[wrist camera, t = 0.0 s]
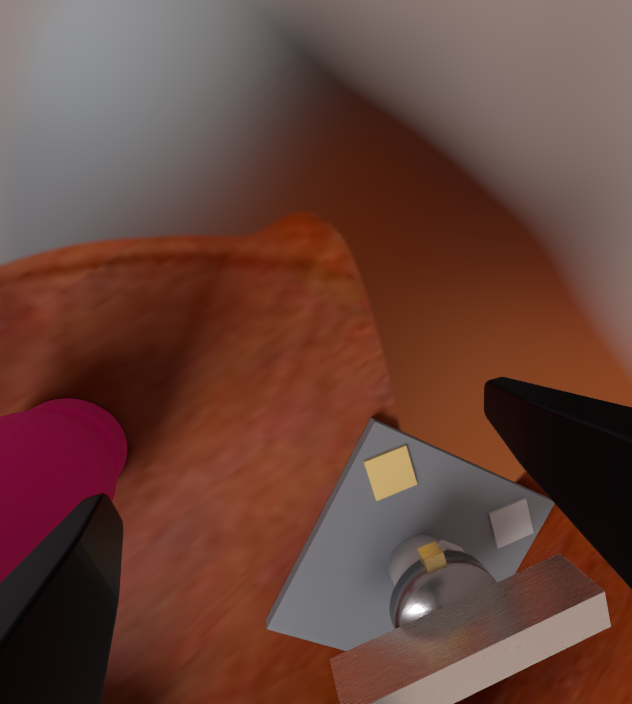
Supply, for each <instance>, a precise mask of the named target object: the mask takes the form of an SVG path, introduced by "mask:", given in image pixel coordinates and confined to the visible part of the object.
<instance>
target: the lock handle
mask: <svg viewBox="0 0 632 704" xmlns="http://www.w3.org/2000/svg"><path fill="white" fill-rule="evenodd" d="M417 551H418V554H419V558H420V560H418V561H417V562H415V563H414V564H413V565H411V566H410V567H409V568H408V569H407V570H406V571H405V572H404V573H403V575H402V576H401V577H400V578H399V580H398V582H397V583H396V585H395V587H394V589H393V592H392V595H391V599H390V606H389V612H390V618H391V622H392V624H393V627H394V630H392V631H390V632H388V633H386V634H383V635H381V636H379V637H377V638H375V639H372V640H370V641H368V642H366V643H364V644H361V645H359V646H357V647H355V648H353V649H351V650H348V651H346V652H344V653H342V654H340V655H337V656H335V657H333V658H331V659H330V663H331V668H332V672H333V676H334V681H335V685H336V689H337V694H338V698H339V702H340V704H454V703H456V702H458V701H460V700H462V699H464V698H466V697H468V696H470V695H472V694H474V693H476V692H478V691H480V690H482V689H484V688H486V687H489V686H491V685H493V684H495V683H497V682H499V681H501V680H503V679H505V678H507V677H509V676H511V675H513V674H515V673H517V672H519V671H521V670H523V669H525V668H527V667H529V666H531V665H533V664H535V663H537V662H539V661H541V660H543V659H546V658H548V657H550V656H552V655H554V654H556V653H558V652H560V651H562V650H564V649H566V648H568V647H570V646H572V645H574V644H576V643H578V642H580V641H582V640H584V639H586V638H588V637H590V636H592V635H594V634H596V633H598V632H601V631H603V630H605V629H607V628H609V627H611V624H610V619H609V613H608V608H607V602H606V596H605V591H603V590H602V589H601V588H600V587H599V586H598V585H596V584H595V583H594V582H593V581H592V580H591V579H589V578H588V577H587V576H586V575H585V574H583V573H582V572H581V571H580V570H579V569H578V568H576V567H575V566H574V565H573V564H572V563H571V562H569V561H568V560H567V559H566V558H565V557H563V556H562V555H561V554H558V555H556V556H554V557H552V558H550V559H547V560H545V561H543V562H541V563H539V564H536V565H534V566H532V567H530V568H528V569H526V570H523V571H521V572H519V573H517V574H515V575H512V576H510V577H508V578H506V579H504V580H501V581H499V582H497V581H496V580H495V579H494V578H493V577H492V576H491V574H490V573H489V572H488V571H487V570H486V568H485V567H484V566H483V565H482V564H481V563H480V562H479V561H478V560H477V559H476V558H475V557H473V556H472V555H470V554H467V553H465V552H461V551H455V550H446V551H442V550H441V548H440V547H439V546H438V544H437V543H436V542H435V541H434V542H432V543H429V544H427V545H425V546H422V547H420V548H418V549H417Z"/></svg>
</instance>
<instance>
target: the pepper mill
mask: <svg viewBox="0 0 632 704" xmlns="http://www.w3.org/2000/svg"><path fill="white" fill-rule="evenodd" d="M126 458H127V440H126V437H125V434H124V431H123V430H122V428H121V426H120V424H119V423H118V421H117V420H116V419H115V418H114V417H113V416H112V415H111V414H110V413H109V412H107V411H106V410H105V409H103V408H101V407H99V406H97V405H96V404H93V403H90V402H87V401H84V400H80V399H72V398H65V399H55V400H50V401H47V402H44V403H42V404H39V405H37V406H35V407H33V408H32V409H30V410H28V411H26V412H18V413H13V414H9V415H5V416H1V417H0V583H1V582H2V581H3V580H4V579H5V578H6V577H7V576H8V575H9V574H10V573H11V572H12V571H13V570H14V569H15V568H16V567H17V566H18V565H19V564H20V562H21V561H22V560H23V559H24V558H25V557H26V556H27V555H28V554H29V553H30V552H31V551H32V550H33V549H34V548H35V547H36V546H37V545H38V544H39V543H40V542H41V541H42V540H43V539H44V538H45V537H46V536H47V535H48V534H49V533H50V532H51V531H52V530H53V529H54V528H55V527H56V526H57V525H58V524H59V523H60V522H61V521H62V520H63V519H64V518H65V517H66V516H67V515H68V514H69V513H70V512H71V511H72V510H73V509H74V508H75V507H76V506H77V505H78V504H79V503H80V502H81V501H82V500H83V499H85V498H87V497H90V496H93V495H97V494H100V493H105V494H107V495H108V496H109V498H110V499H111V501H112V500H113V497H114V494H115V489H116V480H117V478H118V477H119V475H120V474H121V472H122V470H123V468H124V465H125V462H126Z"/></svg>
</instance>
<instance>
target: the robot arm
mask: <svg viewBox="0 0 632 704" xmlns="http://www.w3.org/2000/svg"><path fill="white" fill-rule="evenodd" d="M484 412H485V415H486V417H487V419H488V420H489V422H490V423H491V424H492V426H493V427H494V429H495V430H496V431H497V433H498V434H499V435H500V437H501V438H502V440H503V441H504V442H505V444H506V445H507V446H508V448H509V449H510V451H511V452H512V453H513V455H514V456H515V458H516V459H517V460H518V461H519V463H520V464H521V465H522V467H523V468H524V469H525V470H526V471H527V473H528V474H529V475H530V476H531V477H532V478H533V480H534V481H535V482H536V483H537V484H538V485H539V486H540V487H541V488H542V490H543V491H544V492H545V493H546V494H547V495H548V496H549V497H550V499H551V500H552V501H553V502H554V503H555V504H556V505H557V506H558V508H559V509H560V510H561V511H562V512H563V513H564V514H565V515H566V517H567V518H568V519H569V520H570V521H571V522H572V523H573V524H574V526H575V527H576V528H577V529H578V530H579V531H580V532H581V533H582V534H583V536H584V537H585V538H586V539H587V540H588V541H589V542H590V543H591V545H592V546H593V547H594V548H595V549H596V550H597V551H598V552H599V554H600V555H601V556H602V557H603V558H604V559H605V560H606V561H607V563H608V564H609V565H610V566H611V567H612V568H613V569H614V570H615V571H616V573H617V574H618V575H619V576H620V577H621V578H622V579H623V580H624V582H625V583H626V584H627V585H628V586H629V587H630V588H631V589H632V407H628V406H623V405H619V404H615V403H611V402H607V401H602V400H598V399H594V398H589V397H585V396H581V395H577V394H573V393H569V392H565V391H561V390H556V389H552V388H548V387H543V386H540V385H535V384H531V383H527V382H523V381H519V380H514V379H510V378H506V377H498V378H495V379H491V380H488V381H487V382H486V383H485V387H484ZM122 543H123V522H122V519H121V517H120V515H119V514H118V512H117V510H116V508H115V506H114V505H113V503H112V501H111V499H110V498H109V496H108V495H107V494H105V493H100V494H97V495H93V496H90V497H87V498H85V499H83V500H82V501H81V502H80V503H79V504H78V505H77V506H76V507H75V508H74V509H73V510H72V511H71V512H70V513H69V514H68V515H67V516H66V517H65V518H64V519H63V520H62V521H61V522H60V523H59V524H58V525H57V526H56V527H55V528H54V529H53V530H52V531H51V532H50V533H49V534H48V535H47V536H46V537H45V538H44V539H43V540H42V541H41V542H40V543H39V544H38V545H37V546H36V547H35V548H34V549H33V550H32V551H31V552H30V553H29V554H28V555H27V556H26V557H25V558H24V559H23V560H22V561H21V562H20V564H19V565H18V566H17V567H16V568H15V569H14V570H13V571H12V572H11V573H10V574H9V575H8V576H7V577H6V578H5V579H4V580H3V581H2V582H1V583H0V704H101V700H102V694H103V688H104V683H105V677H106V671H107V665H108V660H109V654H110V648H111V643H112V637H113V631H114V625H115V620H116V614H117V607H118V601H119V590H120V575H121V559H122Z"/></svg>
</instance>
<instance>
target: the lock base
mask: <svg viewBox="0 0 632 704" xmlns="http://www.w3.org/2000/svg"><path fill="white" fill-rule="evenodd" d="M554 504H555V503H554V502H553V501H552V500H551V499H549V498H548V497H546V496H544V495H542V494H540V493H537V492H535V491H533V490H531V489H528V488H526V487H524V486H522V485H520V484H517V483H515V482H513V481H511V480H508V479H506V478H504V477H502V476H500V475H497V474H495V473H493V472H491V471H488V470H486V469H484V468H482V467H480V466H477V465H475V464H473V463H471V462H469V461H466V460H464V459H462V458H459V457H458V456H455V455H453V454H451V453H449V452H446V451H444V450H442V449H440V448H438V447H435V446H433V445H431V444H429V443H426V442H424V441H422V440H420V439H418V438H415V437H413V436H411V435H409V434H407V433H404V432H402V431H400V430H398V429H395V428H393V427H391V426H389V425H387V424H384V423H382V422H380V421H378V420H375V419H373V418H370V420H369V422H368V424H367V426H366V428H365V430H364V432H363V434H362V436H361V438H360V440H359V441H358V443H357V445H356V447H355V449H354V451H353V453H352V455H351V457H350V459H349V461H348V463H347V465H346V466H345V468H344V470H343V472H342V474H341V476H340V478H339V480H338V482H337V484H336V486H335V488H334V490H333V491H332V493H331V495H330V497H329V499H328V501H327V503H326V505H325V507H324V509H323V511H322V513H321V515H320V516H319V518H318V520H317V522H316V524H315V526H314V528H313V530H312V532H311V534H310V536H309V538H308V540H307V541H306V543H305V545H304V547H303V549H302V551H301V553H300V555H299V557H298V559H297V561H296V563H295V565H294V566H293V568H292V570H291V572H290V574H289V576H288V578H287V580H286V582H285V584H284V586H283V588H282V590H281V591H280V593H279V595H278V597H277V599H276V601H275V603H274V605H273V607H272V609H271V611H270V613H269V615H268V616H267V618H266V625H267V629H268V630H272V631H276V632H279V633H283V634H286V635H290V636H294V637H297V638H301V639H305V640H308V641H312V642H315V643H319V644H323V645H326V646H330V647H333V648H337V649H341V650H344V651H348V650H351V649H353V648H355V647H357V646H359V645H361V644H364V643H366V642H368V641H370V640H372V639H375V638H377V637H379V636H381V635H383V634H386V633H388V632H390V631H392V630H394V627H393V624H392V622H391V618H390V612H389V606H390V599H391V595H392V592H393V589H394V587H395V585H396V583H397V582H398V580H399V578H400V577H401V576H402V575H403V573H404V572H405V571H406V570H407V569H408V568H409V567H410V566H411V565H413V564H414V563H415V562H417V561H418V560H420V558H419V554H418V551H417V549H418V548H420V547H422V546H425V545H427V544H429V543H432V542H434V541H435V542H436V543H437V544H438V546H439V547H440V548H441V550H442V551H446V550H455V551H461V552H465V553H467V554H470V555H472V556H473V557H475V558H476V559H477V560H478V561H479V562H480V563H481V564H482V565H483V566H484V567H485V568H486V570H487V571H488V572H489V573H490V574H491V576H492V577H493V578H494V579H495V580H496V581H497V582H499V581H501V580H504V579H506V578H508V577H510V576H512V575H514V574H515V572H516V571H517V569H518V567H519V565H520V564H521V562H522V560H523V558H524V557H525V555H526V553H527V551H528V549H529V548H530V546H531V544H532V542H533V541H534V539H535V537H536V535H537V534H538V532H539V530H540V528H541V527H542V525H543V523H544V521H545V520H546V518H547V516H548V514H549V513H550V511H551V509H552V507H553V506H554Z"/></svg>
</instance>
